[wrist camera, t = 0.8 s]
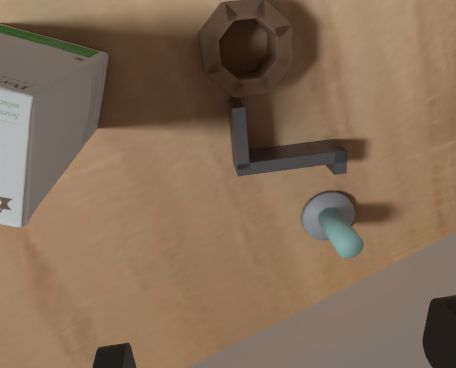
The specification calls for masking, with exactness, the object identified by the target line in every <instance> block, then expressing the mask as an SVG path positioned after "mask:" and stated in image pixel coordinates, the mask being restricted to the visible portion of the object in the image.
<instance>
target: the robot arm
mask: <svg viewBox="0 0 456 368" xmlns="http://www.w3.org/2000/svg"><path fill="white" fill-rule="evenodd" d="M423 348H424V352H425V355H426V357H427V359H428V361H429V363H430V365H431V366H432V367H433V368H456V295H455V296H448V297H441V298H434V299H433V300H431V302H430V305H429V310H428V315H427V320H426V325H425V330H424V335H423ZM93 368H136V364H135V361H134V357H133V353H132V349H131V346H130V344H129V343H124V344H117V345H110V346H103V347H99V348H98V349H97V352H96V355H95V360H94V364H93Z"/></svg>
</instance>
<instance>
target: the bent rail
mask: <svg viewBox="0 0 456 368" xmlns="http://www.w3.org/2000/svg"><path fill="white" fill-rule="evenodd" d="M228 111H229V122H230V133H231V143H232V154H233V163H234V166H235V169H236V172H237V175H238V176H243V175H251V174H259V173H266V172H274V171H281V170H289V169H297V168H304V167H312V166H320V165H326V166H327V167H328V168H329V169H330V170H331V171H332V173H333V174H334V175H336V174H344V173H346V168H347V150H346V149H345V148H344V147H342V146H341V145H340V144H339V143H338V142H336V141H335V140H334V139H332V140H324V141H316V142H308V143H301V144H293V145H285V146H277V147H269V148H261V149H253V150H248V137H247V124H246V110H245V106H244V104H243V103H242V102H241V100H240V99H234V100H228Z"/></svg>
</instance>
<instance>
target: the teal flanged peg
mask: <svg viewBox="0 0 456 368" xmlns="http://www.w3.org/2000/svg"><path fill="white" fill-rule="evenodd" d="M354 217H355V209H354V206H353V204H352V202H351V201H350V200H349V199H348V198H347V197H346V196H345V195H344V194H342V193H340V192H336V191H326V192H322V193H319V194H317V195H316V196H314V197H313V198H311V199H310V200H309V201H308V202H307V204H306V205H305V207H304V209H303V212H302V224H303V226H304V228H305V230H306V232H307V233H308V234H309V235H310V236H311V237H313V238H315V239H318V240H330V241H331V243H332V244H333V246H334V247H335V249H336V250H337V252H338V253H339V255H340V256H342V257H344V258H352V257H355V256H356V255H358V254H359V253H360V252H361V251H362V249H363V241H362V239H361V238H360V237H359V235H358V234H357V233H356V232H355V230H354V229H353V228H352V227H351V225H352V223H353V221H354Z"/></svg>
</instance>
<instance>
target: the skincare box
mask: <svg viewBox="0 0 456 368" xmlns="http://www.w3.org/2000/svg"><path fill="white" fill-rule="evenodd" d="M108 58H109V55H108V53H106V52H103V51H99V50H95V49H91V48H88V47H84V46H81V45H78V44H74V43H70V42H66V41H63V40H59V39H55V38H51V37H47V36H44V35H40V34H36V33H32V32H28V31H25V30H21V29H18V28H14V27H11V26H7V25H4V24H0V224H4V225H9V226H14V227H23V226H26V225H27V224H28V222H29V219H30V218H31V216H32V214H33V213H34V211H35V210H36V208H37V207H38V205H39V204H40V203H41V201H42V200H43V199H44V197H45V196H46V195H47V194H48V192H49V191H50V190H51V188H52V187H53V186H54V184H55V183H56V182H57V180H58V179H59V178H60V176H61V175H62V174H63V172H64V171H65V170H66V169H67V167H68V166H69V165H70V163H71V162H72V161H73V159H74V158H75V157H76V156H77V154H78V153H79V152H80V150H81V149H82V148H83V146H84V145H85V144H86V142H87V141H88V140H89V139H90V137H91V136H92V135H93V134H94V132H95V131H96V130H97V128H98V122H99V117H100V111H101V105H102V98H103V92H104V85H105V79H106V72H107V65H108Z"/></svg>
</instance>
